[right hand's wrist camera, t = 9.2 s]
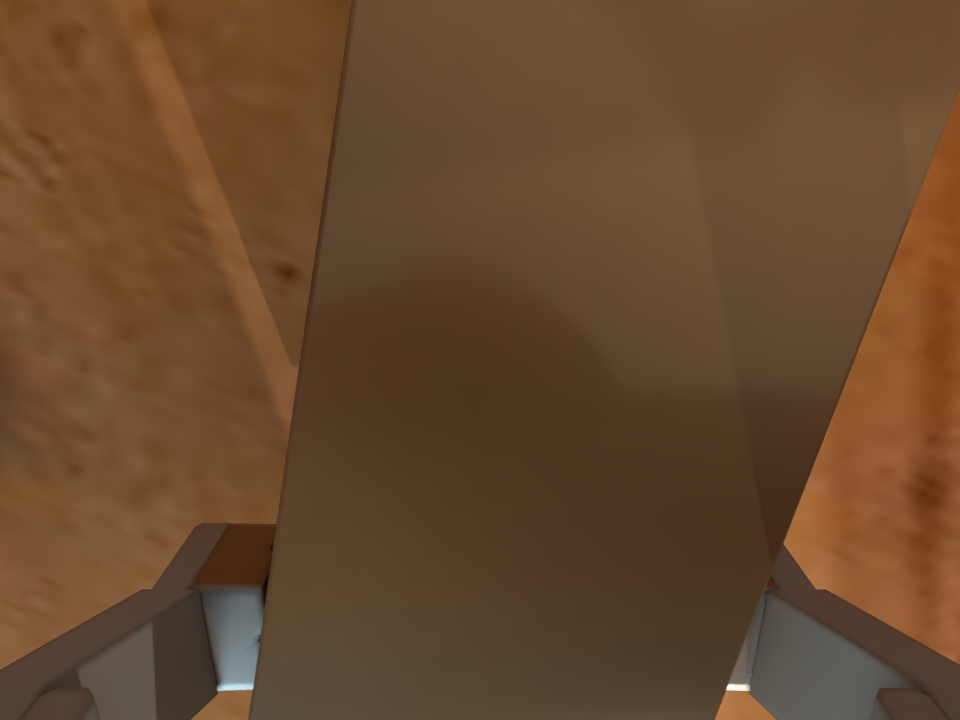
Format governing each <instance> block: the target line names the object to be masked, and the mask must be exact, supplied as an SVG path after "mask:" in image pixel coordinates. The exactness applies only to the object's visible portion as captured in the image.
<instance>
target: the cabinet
mask: <svg viewBox="0 0 960 720" xmlns="http://www.w3.org/2000/svg"><path fill="white" fill-rule="evenodd" d="M959 89H960V0H352V4H351V11H350V18H349V25H348V32H347V39H346V45H345V52H344V59H343V66H342V73H341V80H340V87H339V94H338V101H337V108H336V115H335V122H334V129H333V136H332V143H331V150H330V157H329V163H328V170H327V177H326V184H325V191H324V198H323V205H322V212H321V219H320V226H319V233H318V240H317V247H316V254H315V261H314V268H313V275H312V281H311V288H310V295H309V302H308V309H307V316H306V323H305V330H304V337H303V344H302V351H301V358H300V365H299V372H298V379H297V386H296V393H295V399H294V406H293V413H292V420H291V427H290V434H289V441H288V448H287V455H286V462H285V469H284V476H283V483H282V490H281V497H280V504H279V511H278V517H277V524H276V531H275V538H274V545H273V552H272V559H271V566H270V573H269V580H268V587H267V594H266V601H265V608H264V615H263V622H262V629H261V635H260V642H259V649H258V656H257V663H256V670H255V677H254V684H253V691H252V698H251V705H250V712H249V719H248V720H715V717H716V715H717V712H718V710H719V707H720V704H721V702H722V699H723V697H724V694H725V692H726V689H727V686H728V684H729V681H730V679H731V676H732V674H733V671H734V668H735V666H736V663H737V661H738V658H739V656H740V653H741V650H742V648H743V645H744V643H745V640H746V637H747V635H748V632H749V630H750V627H751V625H752V622H753V619H754V617H755V614H756V612H757V609H758V607H759V604H760V601H761V599H762V596H763V594H764V591H765V589H766V586H767V583H768V581H769V578H770V576H771V573H772V570H773V568H774V565H775V563H776V560H777V558H778V555H779V552H780V550H781V547H782V545H783V542H784V540H785V537H786V534H787V532H788V529H789V527H790V524H791V522H792V519H793V516H794V514H795V511H796V509H797V506H798V504H799V501H800V498H801V496H802V493H803V491H804V488H805V485H806V483H807V480H808V478H809V475H810V473H811V470H812V467H813V465H814V462H815V460H816V457H817V455H818V452H819V449H820V447H821V444H822V442H823V439H824V437H825V434H826V431H827V429H828V426H829V424H830V421H831V418H832V416H833V413H834V411H835V408H836V406H837V403H838V400H839V398H840V395H841V393H842V390H843V388H844V385H845V382H846V380H847V377H848V375H849V372H850V370H851V367H852V364H853V362H854V359H855V357H856V354H857V351H858V349H859V346H860V344H861V341H862V339H863V336H864V333H865V331H866V328H867V326H868V323H869V321H870V318H871V315H872V313H873V310H874V308H875V305H876V303H877V300H878V297H879V295H880V292H881V290H882V287H883V284H884V282H885V279H886V277H887V274H888V272H889V269H890V266H891V264H892V261H893V259H894V256H895V254H896V251H897V248H898V246H899V243H900V241H901V238H902V236H903V233H904V230H905V228H906V225H907V223H908V220H909V217H910V215H911V212H912V210H913V207H914V205H915V202H916V199H917V197H918V194H919V192H920V189H921V187H922V184H923V181H924V179H925V176H926V174H927V171H928V169H929V166H930V163H931V161H932V158H933V156H934V153H935V150H936V148H937V145H938V143H939V140H940V138H941V135H942V132H943V130H944V127H945V125H946V122H947V120H948V117H949V114H950V112H951V109H952V107H953V104H954V102H955V99H956V96H957V94H958V91H959Z"/></svg>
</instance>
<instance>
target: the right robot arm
mask: <svg viewBox="0 0 960 720" xmlns="http://www.w3.org/2000/svg"><path fill="white" fill-rule="evenodd" d="M275 531H276V524H230V523H203V524H200V525H198V526H196V527H195V528H194V529H193V531H192V532H191V534H190V535H189V536H188V538H187V539H186V541H185V542H184V544H183V545H182V547H181V548H180V549H179V551H178V552H177V554H176V555H175V557H174V558H173V560H172V561H171V562H170V564H169V565H168V567H167V568H166V570H165V571H164V572H163V574H162V575H161V577H160V578H159V580H158V581H157V583H156V584H155V585H154V587H153V588H152V590H140V591H139V592H137V593H135V594H133V595H131V596H130V597H128V598H126V599H124V600H123V601H121V602H119V603H117V604H116V605H114V606H112V607H110V608H109V609H107V610H105V611H103V612H101V613H100V614H98V615H96V616H94V617H93V618H91V619H89V620H87V621H86V622H84V623H82V624H80V625H79V626H77V627H75V628H73V629H71V630H70V631H68V632H66V633H64V634H63V635H61V636H59V637H57V638H56V639H54V640H52V641H50V642H49V643H47V644H45V645H43V646H42V647H40V648H38V649H36V650H34V651H33V652H31V653H29V654H27V655H26V656H24V657H22V658H20V659H19V660H17V661H15V662H13V663H12V664H10V665H8V666H6V667H4V668H3V669H1V670H0V720H191V719H192V718H193V717H194V716H195V715H196V714H197V713H198V712H199V711H200V710H201V709H202V708H203V707H204V706H206V705H207V704H208V703H209V702H210V701H211V700H212V699H213V698H214V697H215V696H216V695H217V694H218V692H217V691H222V690H253V684H254V677H255V670H256V663H257V656H258V649H259V642H260V635H261V629H262V622H263V615H264V608H265V601H266V594H267V587H268V580H269V573H270V566H271V559H272V552H273V545H274V538H275ZM726 690H745V691H749V694H750V695H751V696H752V697H754V698H755V699H756V700H757V701H758V702H759V703H760V704H761V705H762V706H763V707H764V708H765V709H766V710H767V711H768V712H769V713H771V714H772V715H773V716H774V717H775V718H776V719H777V720H960V665H959V664H957V663H955V662H953V661H952V660H950V659H948V658H946V657H945V656H943V655H941V654H939V653H937V652H936V651H934V650H932V649H930V648H929V647H927V646H925V645H923V644H921V643H920V642H918V641H916V640H914V639H913V638H911V637H909V636H907V635H905V634H904V633H902V632H900V631H898V630H897V629H895V628H893V627H891V626H890V625H888V624H886V623H884V622H882V621H881V620H879V619H877V618H875V617H874V616H872V615H870V614H868V613H866V612H865V611H863V610H861V609H859V608H858V607H856V606H854V605H852V604H850V603H849V602H847V601H845V600H843V599H842V598H840V597H838V596H836V595H834V594H833V593H831V592H829V591H827V590H816V589H815V588H814V586H813V585H812V583H811V582H810V581H809V579H808V578H807V576H806V575H805V574H804V572H803V571H802V569H801V568H800V567H799V565H798V564H797V562H796V561H795V560H794V558H793V557H792V555H791V554H790V553H789V551H788V550H787V549H786V547H785V546H784V544H783V545H782V547H781V550H780V552H779V555H778V558H777V560H776V563H775V565H774V568H773V570H772V573H771V576H770V578H769V581H768V583H767V586H766V589H765V591H764V594H763V596H762V599H761V601H760V604H759V607H758V609H757V612H756V614H755V617H754V619H753V622H752V625H751V627H750V630H749V632H748V635H747V637H746V640H745V643H744V645H743V648H742V650H741V653H740V656H739V658H738V661H737V663H736V666H735V668H734V671H733V674H732V676H731V679H730V681H729V684H728V686H727V689H726Z"/></svg>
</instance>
